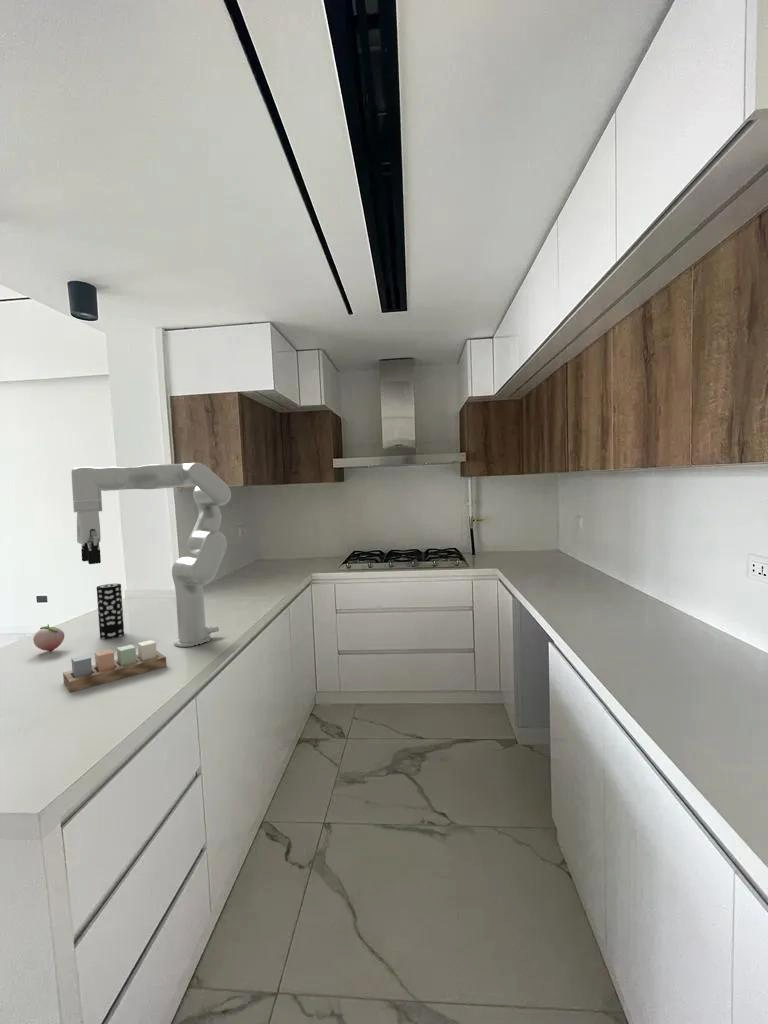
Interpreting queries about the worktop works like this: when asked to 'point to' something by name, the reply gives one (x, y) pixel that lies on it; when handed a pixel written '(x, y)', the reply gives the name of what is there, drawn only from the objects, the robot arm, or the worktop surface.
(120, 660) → the key sage
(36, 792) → the worktop surface
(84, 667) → the grey block
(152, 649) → the cream block
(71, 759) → the worktop surface
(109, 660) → the key terracotta
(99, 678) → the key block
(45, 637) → the decorative fruit
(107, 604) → the spotted tube
